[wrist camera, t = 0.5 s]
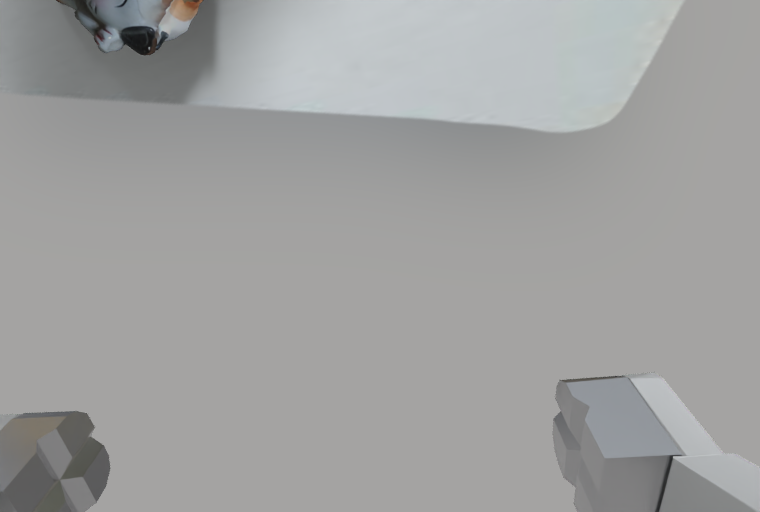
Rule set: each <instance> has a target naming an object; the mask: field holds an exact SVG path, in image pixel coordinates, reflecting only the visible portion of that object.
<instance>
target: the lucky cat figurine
mask: <svg viewBox="0 0 760 512" xmlns="http://www.w3.org/2000/svg"><path fill="white" fill-rule="evenodd" d="M56 1H58V2H60V3H62V4H65V5H68V6H70V7H72V8H73V9H75V10H76V12H75V17H76V19H78V20H79V21H80V22H81V24H82V25H83V26H84V27H85V28H86V29H87V30H88V31H89V32H90V33H91V34H92V35H93V36H94V40H95V42H96V43H97V45H98V47H99V49H100V50H101V51H102V52H104V53H108V52H110V51H118V50H120V49H122V48H123V46H124V45H125V44H126V45H128V46H130V47H131V48H132V49H133V50H135V51H136V52H137V53H139V54H142V55H151V54H153V53H154V52H155V51H156V50H158V49H159V48H160V46H161V45H162V43H163V42H164V41H168V40H172V39H174V38H177V37H178V36H179V35H181V34H183V33H185V32H186V31H188V28H189V26H190V23H191V21H192V19H193V18H194V17H195V15H196V14H197V12H198V8H199V4H200V3H201V2H202V1H203V0H56Z"/></svg>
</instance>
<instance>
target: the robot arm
mask: <svg viewBox="0 0 760 512" xmlns="http://www.w3.org/2000/svg"><path fill="white" fill-rule="evenodd" d="M555 399H556V401H557V403H558V405H559V408H560V410H561V412H560V413H559V414H558V415H557V416H556V417H555V418H554V420H553V421H554V422H553V440H554V448H555V453H556V457H557V460H558V464H559V466H560V469H561V472H562V475H563V477H564V478H565V479H566V480H567V481H568V482H570V483H571V484H572V485H574V486H575V487H576V490H575V499H574V505H575V507H576V510H577V512H760V467H759V466H757V465H755V464H753V463H751V462H750V461H748V460H746V459H744V458H742V457H741V456H739V455H737V454H724V453H723V452H722V450H721V449H720V448H719V447H718V445H717V444H716V443H715V442H714V440H713V439H712V438H711V437H710V435H709V434H708V433H707V432H706V431H705V429H704V428H703V427H702V426H701V425H700V423H699V422H698V421H697V420H696V418H695V417H694V416H693V415H692V413H691V412H690V411H689V410H688V409H687V407H686V406H685V405H684V404H683V402H682V401H681V400H680V399H679V397H678V396H677V395H676V394H675V393H674V391H673V390H672V389H671V388H670V386H669V385H668V384H667V383H666V382H665V380H664V379H663V378H662V377H661V376H660V375H658V374H656V373H642V374H631V375H622V376H609V377H595V378H582V379H567V380H559V382H558V385H557V388H556V398H555ZM94 428H95V427H94V425H93V423H92V421H91V420H90V418H89V416H88V414H87V413H83V412H78V411H70V412H45V413H24V414H10V415H0V512H85V511H86V510H87V509H89V508H90V507H91V506H93V505H94V504H95V503H96V502H97V501H98V499H99V497H100V496H101V494H102V492H103V491H104V489H105V487H106V484H107V480H108V476H109V472H110V462H109V455H108V453H107V451H106V449H105V447H104V445H102V444H101V443H99V442H98V441H96V440H95V439H94V438H92V437H91V436H92V433H93V430H94Z"/></svg>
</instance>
